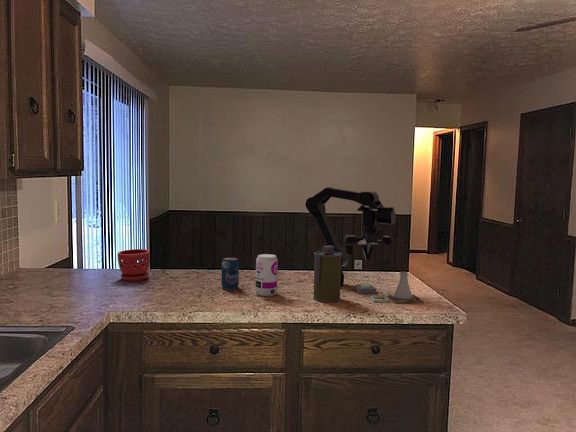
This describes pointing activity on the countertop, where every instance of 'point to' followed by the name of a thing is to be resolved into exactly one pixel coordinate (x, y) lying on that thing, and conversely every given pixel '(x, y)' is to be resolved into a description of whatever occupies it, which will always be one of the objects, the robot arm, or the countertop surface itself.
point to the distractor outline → (379, 300)
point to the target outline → (407, 300)
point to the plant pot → (134, 264)
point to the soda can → (230, 273)
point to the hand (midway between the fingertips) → (367, 260)
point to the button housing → (365, 289)
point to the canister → (327, 275)
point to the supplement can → (266, 274)
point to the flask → (403, 288)
